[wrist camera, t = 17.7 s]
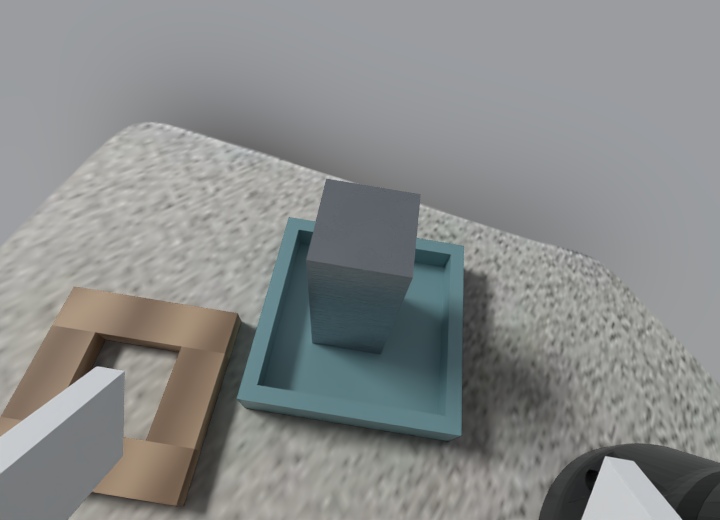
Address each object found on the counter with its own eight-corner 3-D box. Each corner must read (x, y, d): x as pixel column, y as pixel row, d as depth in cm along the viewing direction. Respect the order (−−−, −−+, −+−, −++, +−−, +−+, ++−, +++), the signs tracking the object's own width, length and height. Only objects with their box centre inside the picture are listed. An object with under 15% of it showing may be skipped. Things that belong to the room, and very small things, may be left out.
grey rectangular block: (388, 292, 32) (420, 194, 21) (380, 354, 29) (412, 277, 19) (325, 282, 32) (326, 178, 21) (312, 343, 29) (306, 259, 19)
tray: (453, 264, 34) (463, 245, 32) (448, 441, 27) (461, 435, 25) (291, 237, 35) (288, 217, 32) (244, 407, 27) (236, 398, 25)
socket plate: (241, 321, 30) (237, 313, 29) (183, 505, 24) (176, 505, 23) (84, 295, 31) (73, 286, 29) (-12, 472, 24) (-31, 471, 23)
